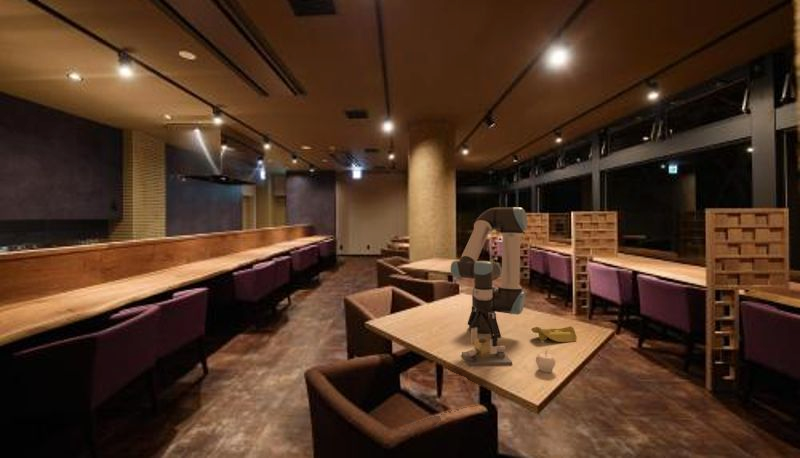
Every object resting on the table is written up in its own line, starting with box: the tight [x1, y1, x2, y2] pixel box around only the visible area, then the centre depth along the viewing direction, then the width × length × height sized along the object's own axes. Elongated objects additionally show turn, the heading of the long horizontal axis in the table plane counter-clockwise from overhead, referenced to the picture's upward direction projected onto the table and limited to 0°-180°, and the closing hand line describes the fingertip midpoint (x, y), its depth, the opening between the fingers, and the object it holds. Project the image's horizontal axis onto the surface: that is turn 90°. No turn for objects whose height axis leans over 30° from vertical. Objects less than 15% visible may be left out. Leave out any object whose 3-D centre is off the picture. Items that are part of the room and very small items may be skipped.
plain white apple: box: [535, 349, 556, 373], centre depth 142 cm, size 7×7×8 cm
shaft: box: [466, 348, 480, 362], centre depth 150 cm, size 5×4×4 cm
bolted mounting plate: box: [461, 345, 513, 367], centre depth 153 cm, size 18×12×5 cm, turn 93°
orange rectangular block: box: [473, 338, 491, 359], centre depth 153 cm, size 5×5×7 cm
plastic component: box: [531, 325, 578, 343], centre depth 178 cm, size 20×7×10 cm
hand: (483, 347), depth 154 cm, fingers open, 13 cm apart
